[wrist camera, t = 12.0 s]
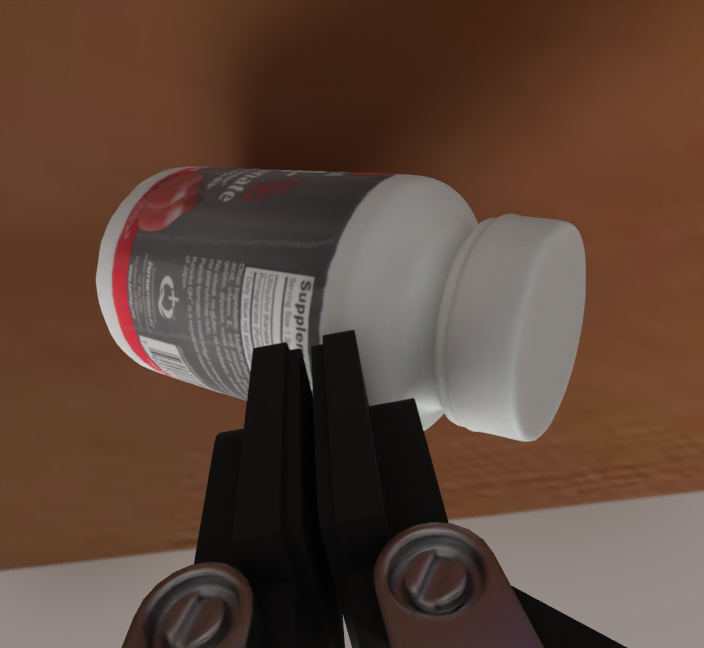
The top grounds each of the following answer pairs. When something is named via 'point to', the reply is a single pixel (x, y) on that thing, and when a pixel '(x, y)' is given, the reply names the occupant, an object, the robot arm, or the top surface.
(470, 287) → the pill bottle
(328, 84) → the top surface
